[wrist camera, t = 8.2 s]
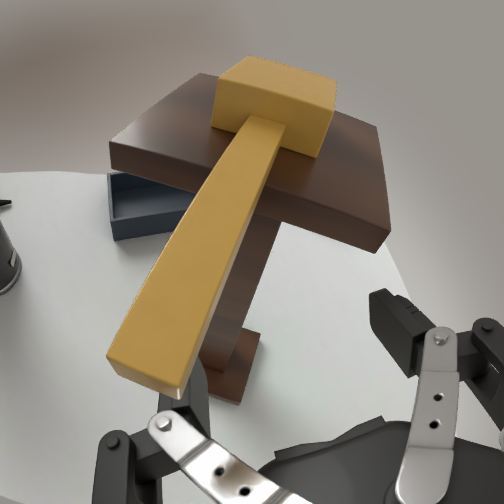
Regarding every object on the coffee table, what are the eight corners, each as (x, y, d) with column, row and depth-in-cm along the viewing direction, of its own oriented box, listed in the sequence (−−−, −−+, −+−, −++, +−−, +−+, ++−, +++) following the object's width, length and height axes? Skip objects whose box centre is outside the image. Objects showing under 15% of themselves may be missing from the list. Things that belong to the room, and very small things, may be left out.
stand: (246, 407, 36) (392, 230, 11) (154, 375, 36) (108, 141, 12) (265, 340, 42) (376, 126, 18) (182, 311, 42) (199, 72, 18)
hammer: (254, 424, 6) (286, 402, 4) (57, 343, 6) (16, 289, 4) (323, 118, 17) (337, 80, 15) (240, 93, 17) (249, 54, 15)
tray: (114, 241, 47) (110, 221, 44) (109, 192, 54) (107, 173, 51) (214, 224, 54) (217, 205, 50) (197, 180, 60) (199, 161, 57)
